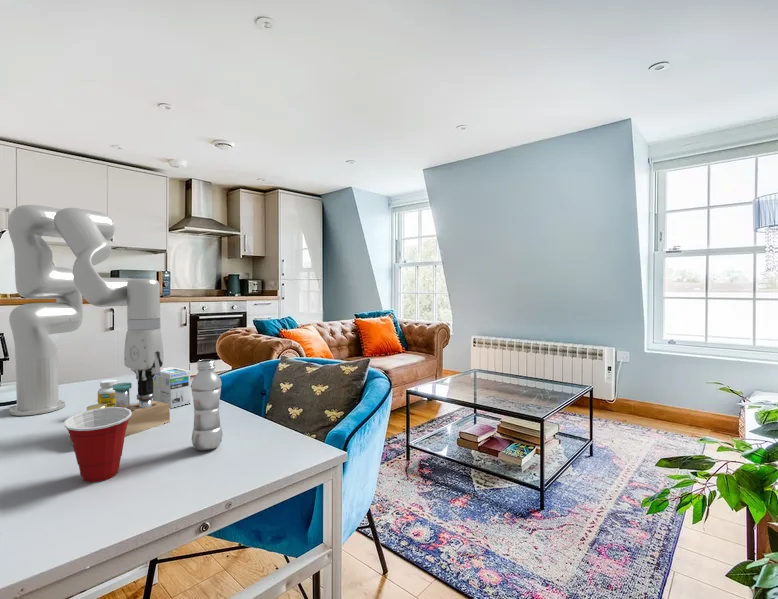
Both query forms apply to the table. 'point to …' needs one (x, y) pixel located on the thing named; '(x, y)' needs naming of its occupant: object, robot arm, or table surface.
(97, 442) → the plastic cup
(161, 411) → the oak block
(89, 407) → the plug brass
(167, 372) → the light bulb box
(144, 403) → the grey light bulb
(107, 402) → the supplement bottle
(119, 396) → the plug teal
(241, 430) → the table surface
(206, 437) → the plastic bottle
